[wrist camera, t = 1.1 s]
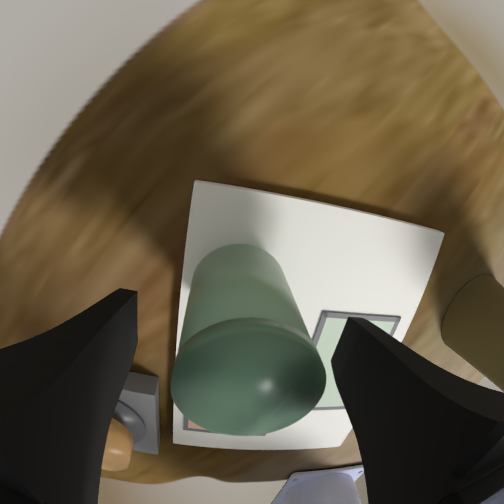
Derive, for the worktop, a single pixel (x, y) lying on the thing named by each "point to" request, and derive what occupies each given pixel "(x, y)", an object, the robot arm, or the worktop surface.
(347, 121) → the worktop surface
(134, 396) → the button pad
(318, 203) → the picture card
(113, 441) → the button
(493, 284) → the olive brown cylinder
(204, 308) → the green cylinder
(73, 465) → the robot arm
